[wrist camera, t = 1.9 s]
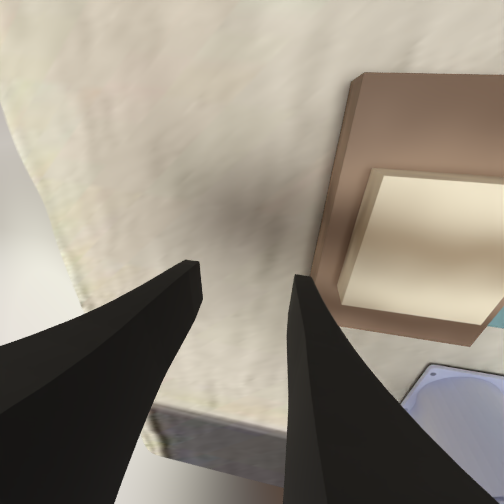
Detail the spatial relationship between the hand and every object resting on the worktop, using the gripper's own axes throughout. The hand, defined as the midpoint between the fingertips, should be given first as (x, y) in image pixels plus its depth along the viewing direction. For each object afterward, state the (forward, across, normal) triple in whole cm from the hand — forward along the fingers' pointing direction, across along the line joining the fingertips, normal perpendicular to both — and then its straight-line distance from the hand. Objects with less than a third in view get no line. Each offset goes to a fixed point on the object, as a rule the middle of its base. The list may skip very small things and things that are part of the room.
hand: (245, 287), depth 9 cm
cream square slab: (+6, -10, 0) cm, 11 cm away
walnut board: (+9, -10, 0) cm, 14 cm away
